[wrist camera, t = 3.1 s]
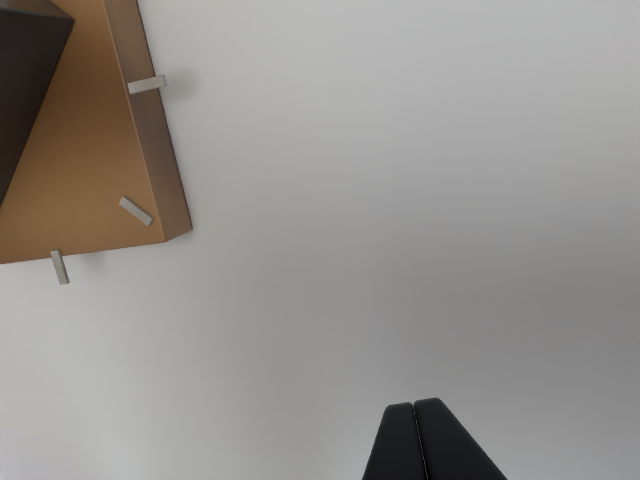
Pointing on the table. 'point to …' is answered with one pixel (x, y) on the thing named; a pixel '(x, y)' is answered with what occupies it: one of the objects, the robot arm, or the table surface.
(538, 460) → the table surface
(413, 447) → the robot arm
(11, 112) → the dark grey block
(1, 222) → the brown piece
